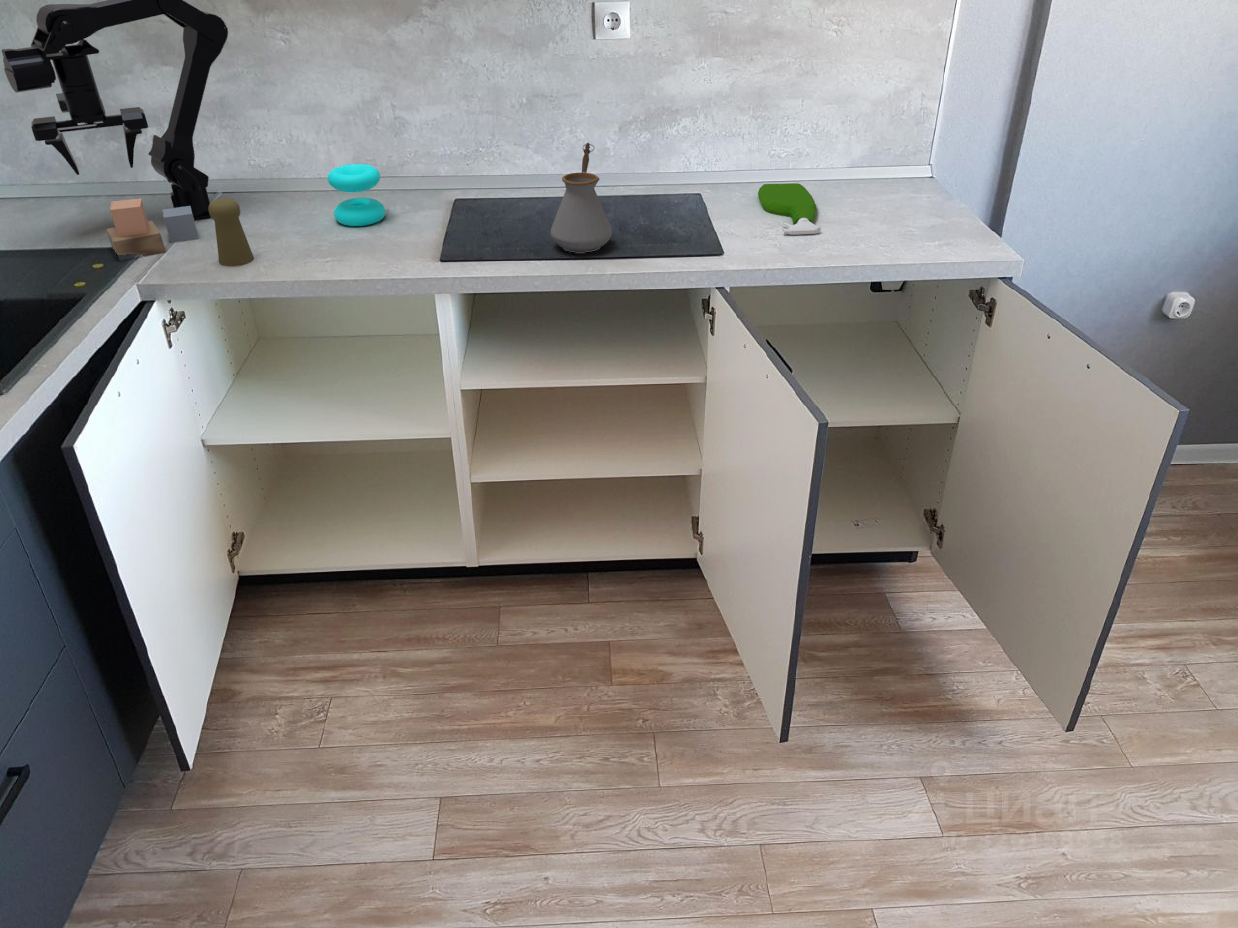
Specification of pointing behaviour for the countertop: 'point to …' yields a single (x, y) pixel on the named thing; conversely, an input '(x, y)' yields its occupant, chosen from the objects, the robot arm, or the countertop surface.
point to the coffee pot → (581, 213)
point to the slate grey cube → (180, 224)
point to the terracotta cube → (129, 217)
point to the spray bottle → (790, 206)
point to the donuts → (356, 181)
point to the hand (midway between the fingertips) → (105, 170)
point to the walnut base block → (137, 242)
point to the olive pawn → (230, 233)
